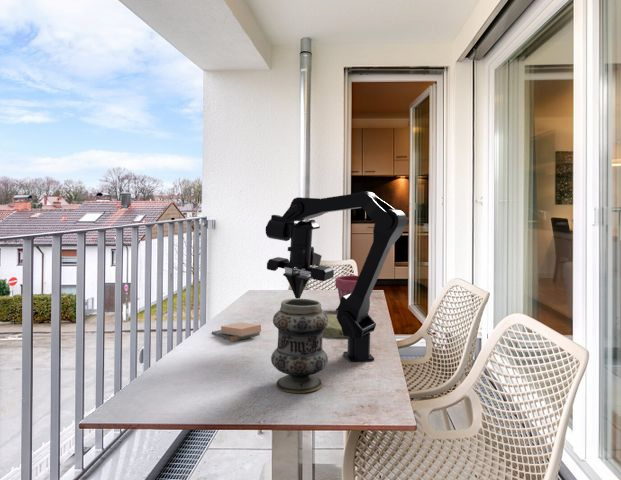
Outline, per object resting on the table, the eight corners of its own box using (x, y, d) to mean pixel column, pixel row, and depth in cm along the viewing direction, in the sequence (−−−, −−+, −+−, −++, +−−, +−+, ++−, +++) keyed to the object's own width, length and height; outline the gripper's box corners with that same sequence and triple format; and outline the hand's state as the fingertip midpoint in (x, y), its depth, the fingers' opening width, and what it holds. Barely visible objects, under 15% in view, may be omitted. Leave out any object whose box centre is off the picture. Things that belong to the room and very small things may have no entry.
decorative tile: (307, 321, 152) (307, 310, 151) (365, 325, 148) (365, 314, 147) (293, 336, 133) (293, 324, 133) (360, 341, 129) (360, 329, 129)
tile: (260, 324, 129) (240, 322, 136) (241, 329, 124) (221, 326, 131) (261, 332, 129) (240, 329, 136) (241, 336, 124) (221, 333, 131)
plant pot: (328, 308, 169) (329, 275, 168) (361, 306, 174) (362, 274, 173) (344, 317, 156) (345, 281, 155) (379, 314, 160) (380, 279, 160)
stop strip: (259, 335, 132) (259, 331, 132) (231, 341, 125) (231, 337, 125) (257, 334, 133) (257, 330, 133) (229, 340, 126) (229, 336, 125)
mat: (256, 334, 132) (256, 333, 132) (231, 340, 126) (231, 338, 126) (236, 328, 139) (236, 326, 139) (211, 333, 133) (211, 331, 133)
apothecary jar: (338, 384, 95) (340, 301, 94) (300, 401, 86) (301, 310, 85) (298, 370, 103) (299, 294, 102) (259, 384, 94) (259, 301, 93)
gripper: (344, 244, 123) (340, 298, 126) (289, 235, 132) (286, 286, 135) (325, 250, 113) (321, 308, 116) (266, 240, 123) (264, 294, 125)
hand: (297, 298), depth 123 cm, fingers closed
